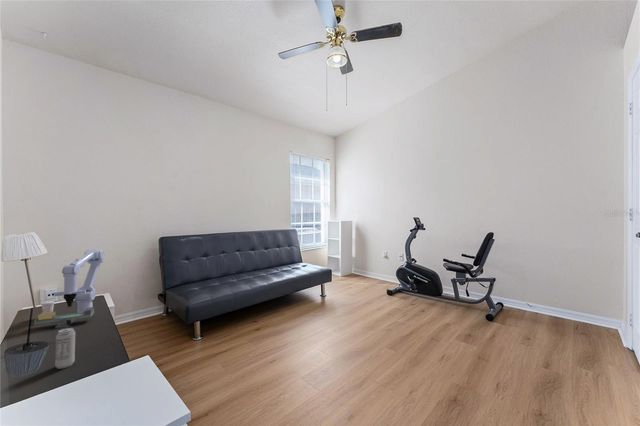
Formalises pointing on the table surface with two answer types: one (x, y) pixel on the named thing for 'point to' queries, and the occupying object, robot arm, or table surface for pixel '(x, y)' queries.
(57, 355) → the energy drink can
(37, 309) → the table surface
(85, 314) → the beam
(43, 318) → the block
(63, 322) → the pivot stand
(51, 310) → the smoothie
